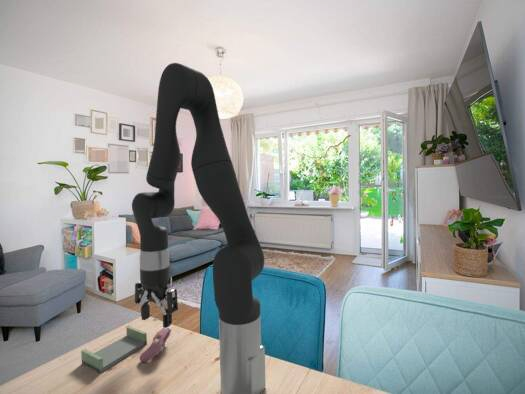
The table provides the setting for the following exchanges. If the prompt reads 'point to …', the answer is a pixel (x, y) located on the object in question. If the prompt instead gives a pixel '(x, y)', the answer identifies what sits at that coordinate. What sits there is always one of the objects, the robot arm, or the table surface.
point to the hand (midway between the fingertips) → (156, 322)
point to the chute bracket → (115, 350)
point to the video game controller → (156, 345)
